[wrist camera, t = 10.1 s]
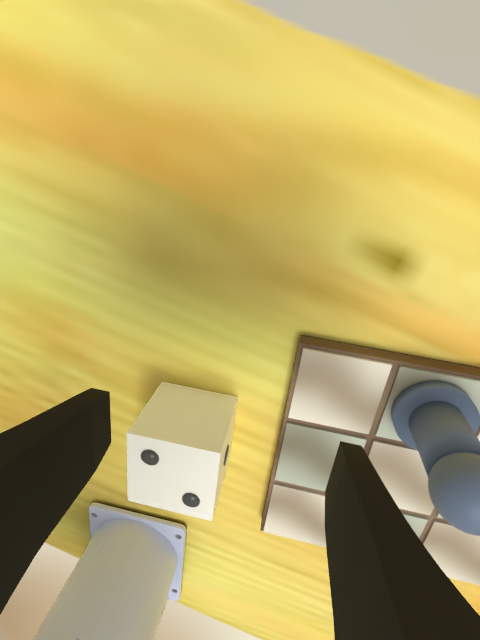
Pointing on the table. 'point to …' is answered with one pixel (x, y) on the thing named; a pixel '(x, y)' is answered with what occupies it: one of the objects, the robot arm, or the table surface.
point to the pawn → (444, 447)
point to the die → (180, 450)
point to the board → (368, 431)
